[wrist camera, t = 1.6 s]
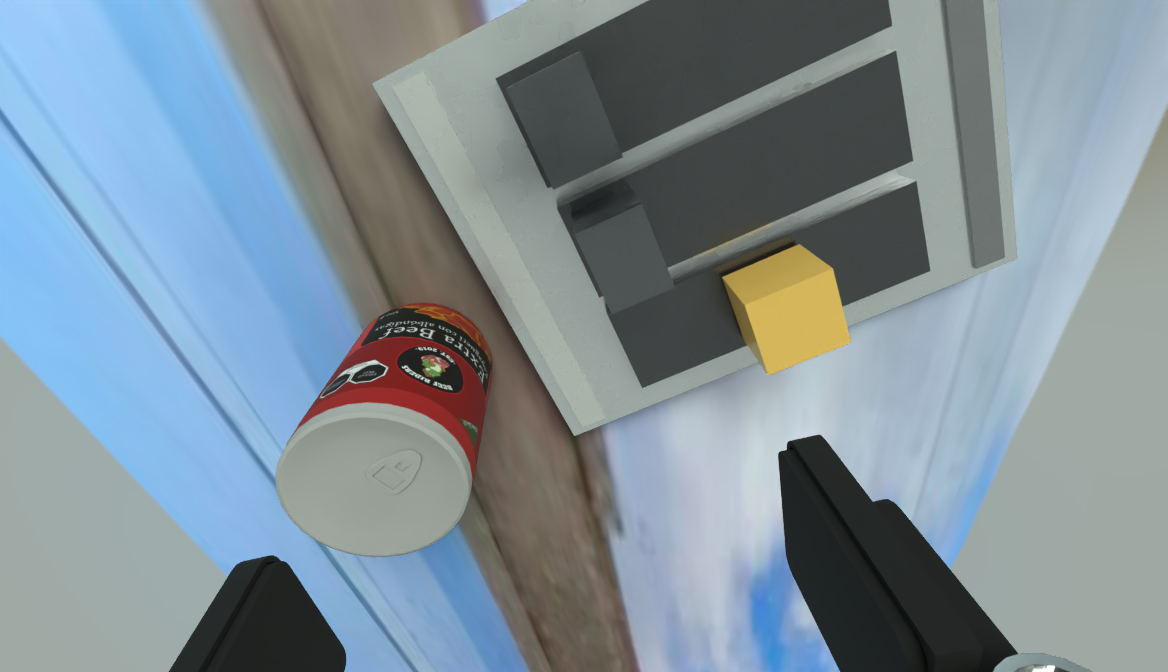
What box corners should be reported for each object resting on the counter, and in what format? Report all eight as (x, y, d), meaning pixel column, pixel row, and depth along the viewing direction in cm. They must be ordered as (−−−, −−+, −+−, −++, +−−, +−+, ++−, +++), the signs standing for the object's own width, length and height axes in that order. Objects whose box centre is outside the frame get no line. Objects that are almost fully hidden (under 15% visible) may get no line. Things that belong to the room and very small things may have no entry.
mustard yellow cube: (799, 243, 27) (832, 268, 23) (817, 311, 28) (851, 342, 25) (721, 277, 27) (744, 305, 24) (744, 341, 29) (768, 375, 26)
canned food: (517, 336, 32) (503, 460, 22) (455, 434, 34) (419, 582, 25) (392, 272, 29) (315, 378, 20) (338, 382, 32) (246, 522, 23)
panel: (944, -213, 22) (1089, -312, 16) (990, 247, 31) (1092, 290, 25) (384, 81, 25) (335, 88, 20) (572, 416, 34) (578, 488, 29)
